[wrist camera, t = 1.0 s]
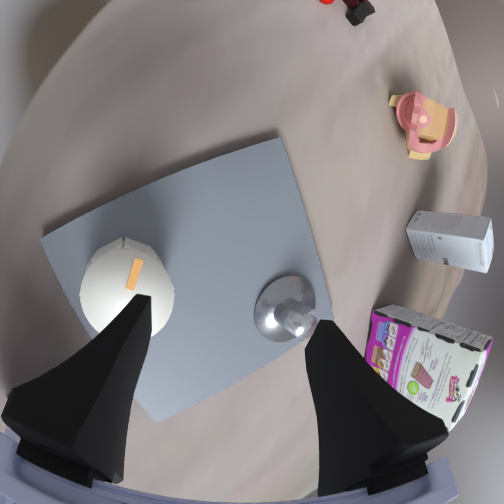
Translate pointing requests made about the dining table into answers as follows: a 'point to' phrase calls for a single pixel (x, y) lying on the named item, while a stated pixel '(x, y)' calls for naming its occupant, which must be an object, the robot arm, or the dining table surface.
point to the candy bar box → (427, 359)
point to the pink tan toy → (424, 123)
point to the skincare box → (452, 239)
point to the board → (204, 267)
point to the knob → (125, 283)
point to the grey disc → (286, 309)
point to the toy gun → (356, 10)
